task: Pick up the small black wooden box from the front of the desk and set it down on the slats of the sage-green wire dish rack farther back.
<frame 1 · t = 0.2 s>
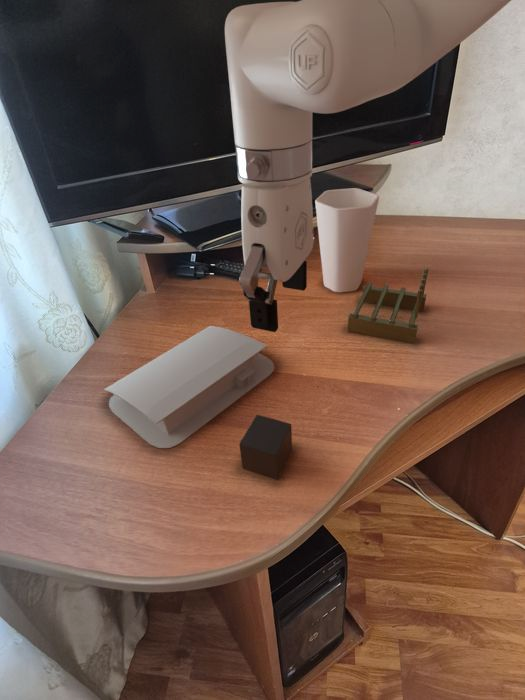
hand: (280, 307, 54), 15 cm above the table, tool pointing down, fingers open, 9 cm apart
box: (267, 458, 54), on the table
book: (194, 384, 66), on the table
cup: (342, 284, 87), on the table
rack: (386, 319, 76), on the table
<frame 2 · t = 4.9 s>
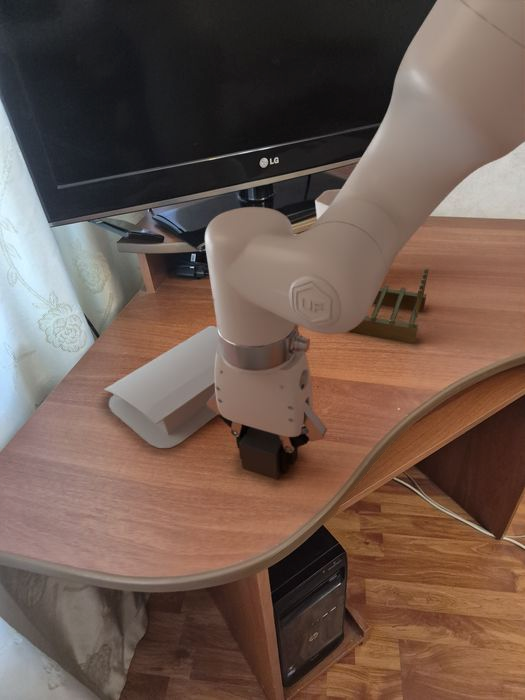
hand: (267, 456, 54), 0 cm above the table, tool pointing down, fingers closed on box, 4 cm apart
box: (267, 458, 54), on the table, touching gripper
everything else where it was.
when the fingers open (4 cm above the table, at t = 11.9 s): box stays where it is, resting on rack.
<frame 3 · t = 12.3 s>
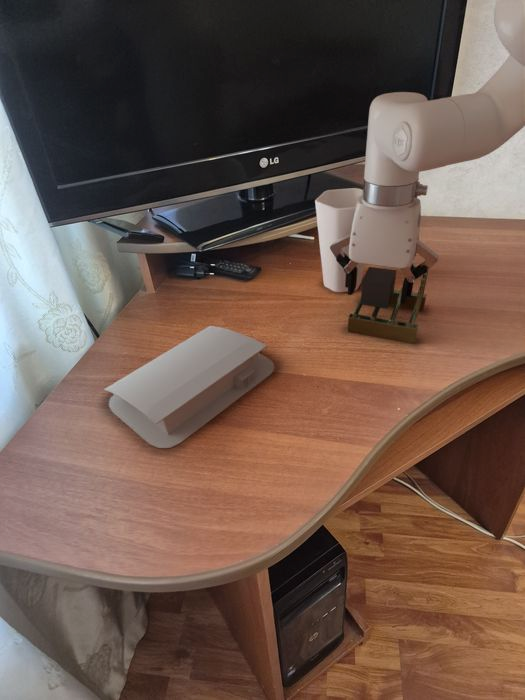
hand: (377, 294, 74), 5 cm above the table, tool pointing down, fingers open, 8 cm apart
box: (377, 299, 75), point 4 cm above the table, touching rack
everything else where it was.
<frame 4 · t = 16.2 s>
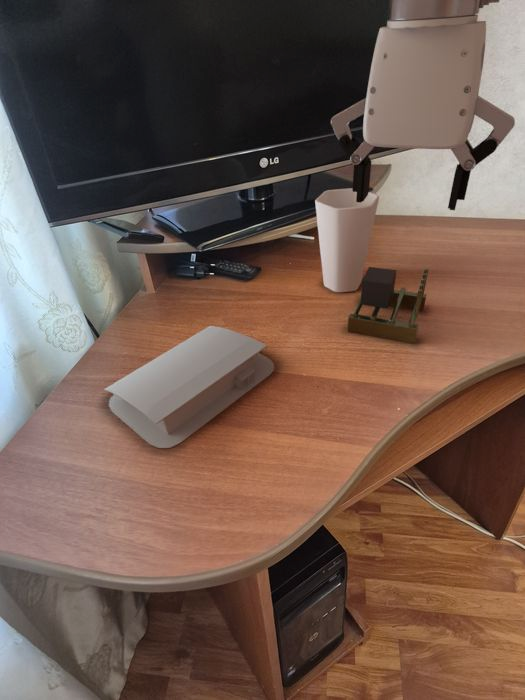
hand: (405, 202, 48), 26 cm above the table, tool pointing down, fingers open, 9 cm apart
nothing on the table moved.
at the end: box inside the target area on the rack (0.0 cm from its centre), point 3.8 cm above the rack's base; box tilted 1°; the gripper is holding nothing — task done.
